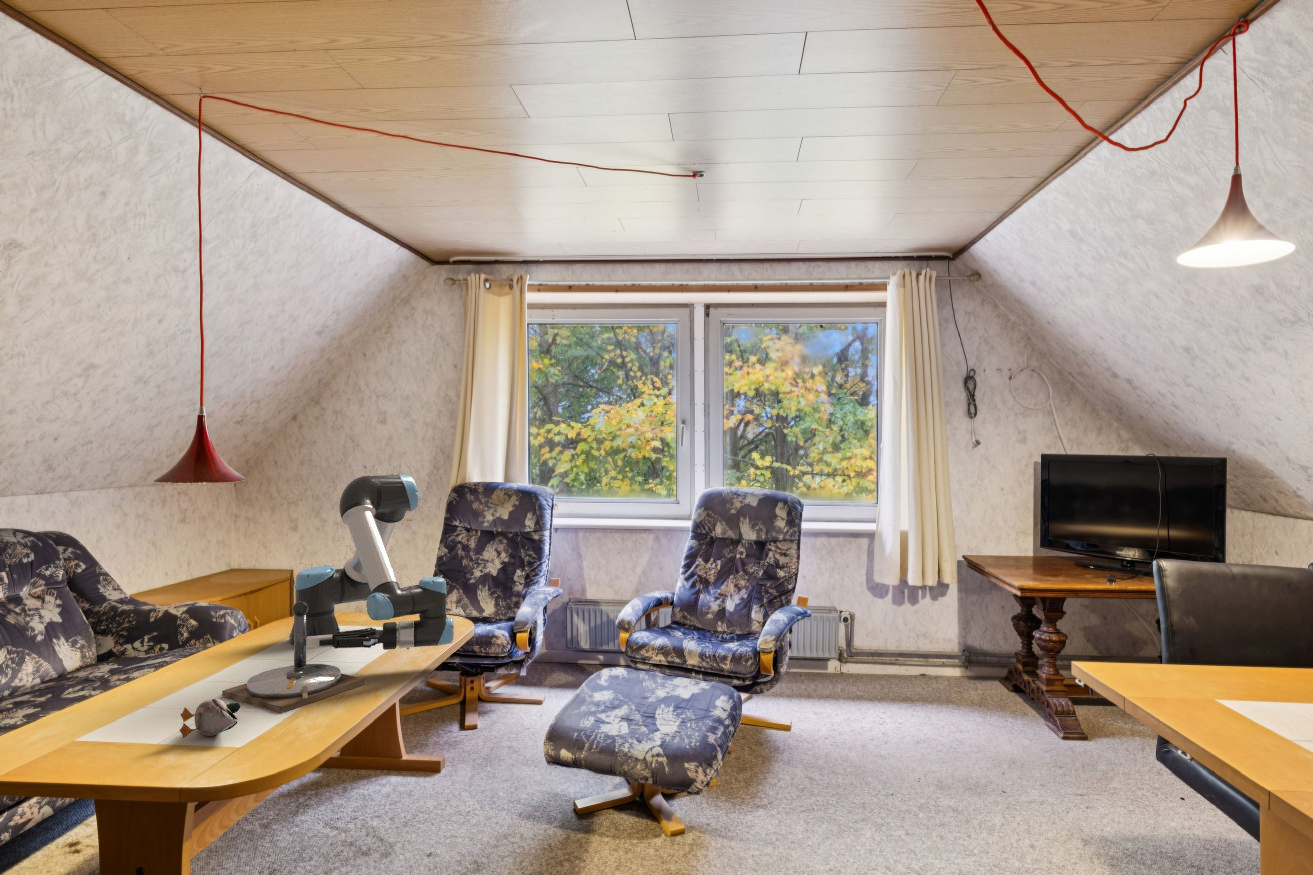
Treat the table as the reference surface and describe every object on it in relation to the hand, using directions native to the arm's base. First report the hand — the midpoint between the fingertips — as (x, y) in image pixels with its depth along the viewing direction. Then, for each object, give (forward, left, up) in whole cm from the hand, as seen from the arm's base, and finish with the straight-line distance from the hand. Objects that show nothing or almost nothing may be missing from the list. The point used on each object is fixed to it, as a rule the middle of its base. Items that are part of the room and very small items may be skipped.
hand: (306, 642), depth 204 cm
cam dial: (+6, -7, -8) cm, 12 cm away
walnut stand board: (+6, -8, -10) cm, 14 cm away
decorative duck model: (+17, -33, -10) cm, 38 cm away
